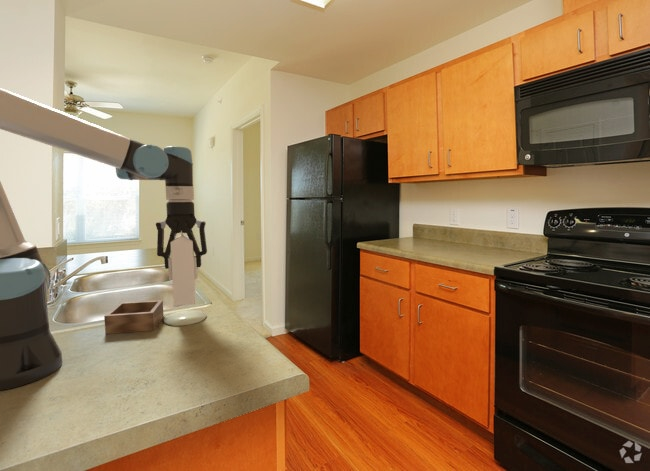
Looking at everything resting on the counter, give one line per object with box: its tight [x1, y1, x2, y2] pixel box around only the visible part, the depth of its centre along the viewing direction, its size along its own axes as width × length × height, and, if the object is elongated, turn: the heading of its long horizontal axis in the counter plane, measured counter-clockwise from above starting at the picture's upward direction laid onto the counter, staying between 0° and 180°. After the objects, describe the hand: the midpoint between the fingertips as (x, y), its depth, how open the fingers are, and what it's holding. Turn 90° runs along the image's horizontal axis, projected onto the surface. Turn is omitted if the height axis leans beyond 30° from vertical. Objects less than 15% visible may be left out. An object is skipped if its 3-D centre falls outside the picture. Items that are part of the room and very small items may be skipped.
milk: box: [170, 230, 197, 307], centre depth 104 cm, size 6×6×22 cm
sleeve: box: [104, 299, 164, 335], centre depth 100 cm, size 12×12×5 cm
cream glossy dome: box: [163, 309, 207, 327], centre depth 106 cm, size 12×12×1 cm
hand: (183, 278), depth 104 cm, fingers closed on milk, 6 cm apart
